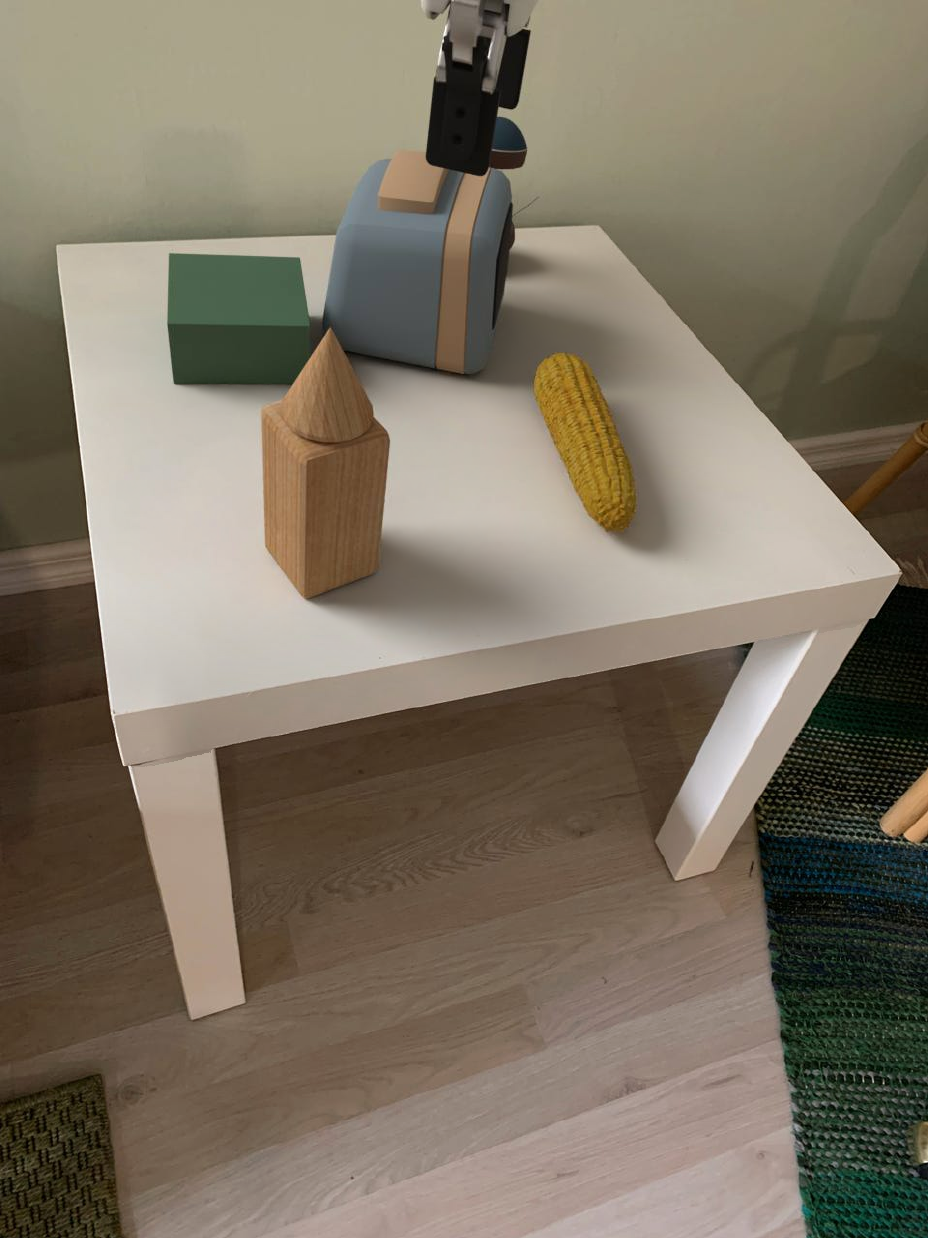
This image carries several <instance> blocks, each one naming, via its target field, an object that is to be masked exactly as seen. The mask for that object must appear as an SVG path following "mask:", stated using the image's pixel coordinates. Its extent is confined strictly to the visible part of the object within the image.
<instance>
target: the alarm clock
mask: <svg viewBox="0 0 928 1238" xmlns="http://www.w3.org/2000/svg"><path fill="white" fill-rule="evenodd" d="M509 179H510V178H508V177H507V176H506V174H505V173H504V172H503V171H502V170H501V169H494V168H490V167H489V169H488V171H487V173H486V174H485V175H484V176H476V175H471V174H467V173H462V172H458V171H454V170H449V169H445V168H440V167H436V166H432V165H430V164H429V163H428V162H427V161H426V151H417V150H409V149H407V150H406V149H400V150H398V151H397V152H396V153H395V154H394V155H393V157H392V158H385V159H378V160H376V161H375V162H374V163H372V164H371V165H370V166H369V167H368V168H367V170H366V171H365V173H364V174H363V176H362V177H361V179H360V180H359V182H358V183H357V185H356V187H355V189H354V192H353V193H352V195H351V198H350V200H349V202H348V204H347V206H346V209H345V212H344V214H343V216H342V219H341V221H340V223H339V226H338V228H337V231H336V232H335V234H336V235H335V241H334V246H333V251H332V258H331V264H330V270H329V276H328V282H327V289H326V293H325V301H324V307H323V312H322V319H321V333H322V338H323V337H324V336H325V334H326V333H327V331H328V330H329V328H330V327H331V329H332V331H333V332H334V334H335V336H336V338H337V340H338V342H339V344H340V346H341V348H342V349H343V351H344V352H350V353H356V354H359V355H366V356H371V357H375V358H381V359H384V360H385V359H386V360H390V361H396V362H401V363H406V364H411V365H417V366H420V367H426V368H431V369H437V370H441V371H446V372H451V373H456V374H463V375H475V374H476V373H478V372H479V371H481V370H483V369H484V368H485V367H486V365H487V363H488V360H489V358H490V356H491V351H492V347H493V343H494V339H495V334H496V330H497V325H498V321H499V317H500V312H501V308H502V304H503V301H504V300H503V299H504V296H505V287H506V280H507V277H508V272H509V271H508V270H509V262H510V261H509V260H510V250H511V249H510V239H511V227H512V222H513V217H512V216H513V212H514V211H513V209H514V204H513V201H512V199H513V194H512V187H511V181H510V180H509Z"/></svg>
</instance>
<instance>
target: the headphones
mask: <svg viewBox="0 0 928 1238" xmlns="http://www.w3.org/2000/svg"><path fill="white" fill-rule="evenodd" d="M527 155H528V145H527V141H526V139H525V137H524V135H523V133H522V130H521V129H520V127H519V126H518V125H517V124H516V123H515V122H514V121H513V120H512V119H510V118H508V117H505V116H497V121H496V127H495V134H494V140H493V146H492V153H491V159H490V166H489V167H490V168H491V169H492V168H494V169H497V170H500V171H502V170H515V169H521V168H523V166H524V165H525V162H526V157H527ZM537 199H539V196H537V197H536V198H535V199H533V201H532V202H531V203H529V204H527V206H525V207H523V208H521V209H520V210H519V211H517V212H515V213H514V214H512V218H513V217H515V215H517V214H518V213H520V212H521V211H523V210H525V209H526V208H528V207H529V206H530V205H531V204H532V203H534V202H535V201H536V200H537ZM515 241H516V228H515V224H514V221H512V227H511V239H510V250H511V249H512V248H513V247H514V244H515Z"/></svg>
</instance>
